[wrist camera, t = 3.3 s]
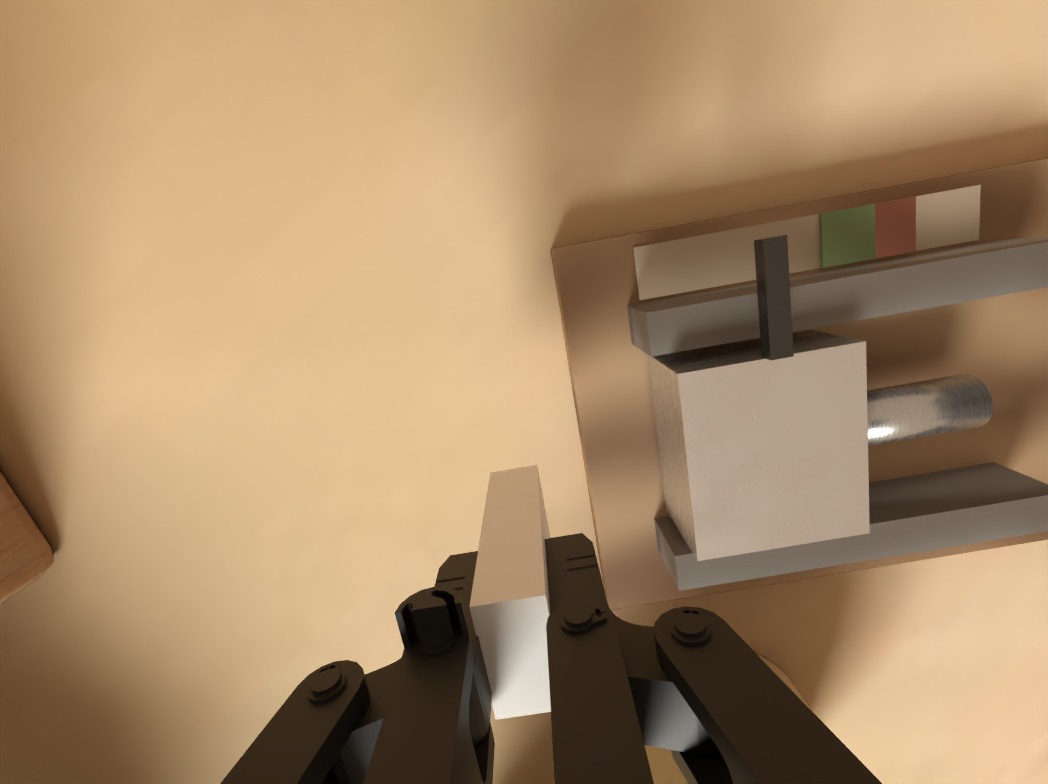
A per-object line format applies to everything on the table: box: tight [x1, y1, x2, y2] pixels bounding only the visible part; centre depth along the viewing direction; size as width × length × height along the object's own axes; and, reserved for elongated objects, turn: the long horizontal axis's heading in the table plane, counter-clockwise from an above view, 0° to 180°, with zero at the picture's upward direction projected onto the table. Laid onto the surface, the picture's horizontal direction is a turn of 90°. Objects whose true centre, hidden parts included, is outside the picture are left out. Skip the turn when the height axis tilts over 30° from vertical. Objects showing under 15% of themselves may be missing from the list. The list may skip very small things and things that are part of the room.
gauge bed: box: [551, 158, 1048, 610], centre depth 18 cm, size 16×24×10 cm, turn 100°
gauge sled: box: [647, 235, 993, 561], centre depth 18 cm, size 10×11×5 cm
